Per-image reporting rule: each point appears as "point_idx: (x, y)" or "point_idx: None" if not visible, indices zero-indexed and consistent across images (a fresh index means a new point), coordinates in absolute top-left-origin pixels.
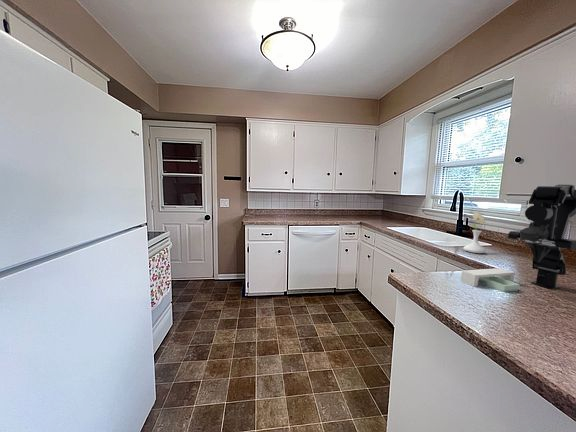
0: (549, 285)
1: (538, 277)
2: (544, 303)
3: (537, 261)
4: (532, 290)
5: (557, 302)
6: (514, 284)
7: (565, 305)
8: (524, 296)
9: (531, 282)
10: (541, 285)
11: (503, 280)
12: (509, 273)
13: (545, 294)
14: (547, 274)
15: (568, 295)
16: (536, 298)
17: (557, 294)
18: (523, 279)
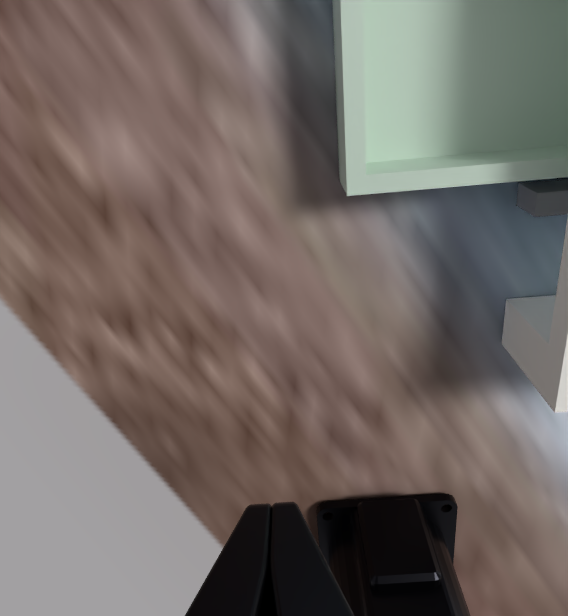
0: (342, 536)
1: (417, 548)
2: (24, 80)
3: (247, 508)
4: (320, 330)
5: (62, 255)
6: (356, 117)
7: (2, 254)
8: (193, 52)
9: (451, 498)
10: (377, 502)
11: (514, 160)
12: (564, 323)
13: (229, 348)
14: (370, 610)
15: (202, 503)
16: (143, 141)
17: (223, 446)
18: (532, 521)
